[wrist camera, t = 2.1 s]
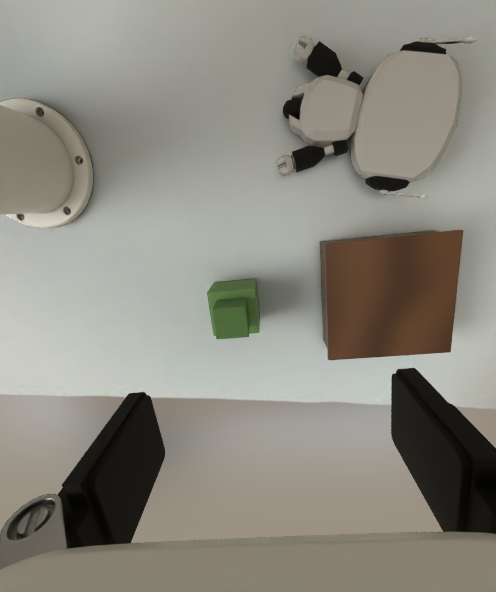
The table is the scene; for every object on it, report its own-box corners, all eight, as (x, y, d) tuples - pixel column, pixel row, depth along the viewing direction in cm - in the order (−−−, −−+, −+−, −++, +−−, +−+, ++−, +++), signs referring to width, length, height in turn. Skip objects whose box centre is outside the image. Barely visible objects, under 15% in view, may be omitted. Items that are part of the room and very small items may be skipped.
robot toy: (273, 182, 31) (415, 201, 30) (271, 176, 27) (437, 199, 25) (294, 46, 27) (457, 61, 26) (295, 15, 23) (491, 31, 22)
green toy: (219, 321, 35) (208, 348, 28) (214, 282, 34) (201, 300, 27) (260, 318, 35) (258, 344, 28) (256, 278, 33) (253, 296, 26)
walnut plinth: (320, 342, 35) (328, 360, 31) (316, 239, 32) (325, 243, 27) (427, 334, 34) (450, 352, 30) (435, 227, 31) (463, 230, 26)
